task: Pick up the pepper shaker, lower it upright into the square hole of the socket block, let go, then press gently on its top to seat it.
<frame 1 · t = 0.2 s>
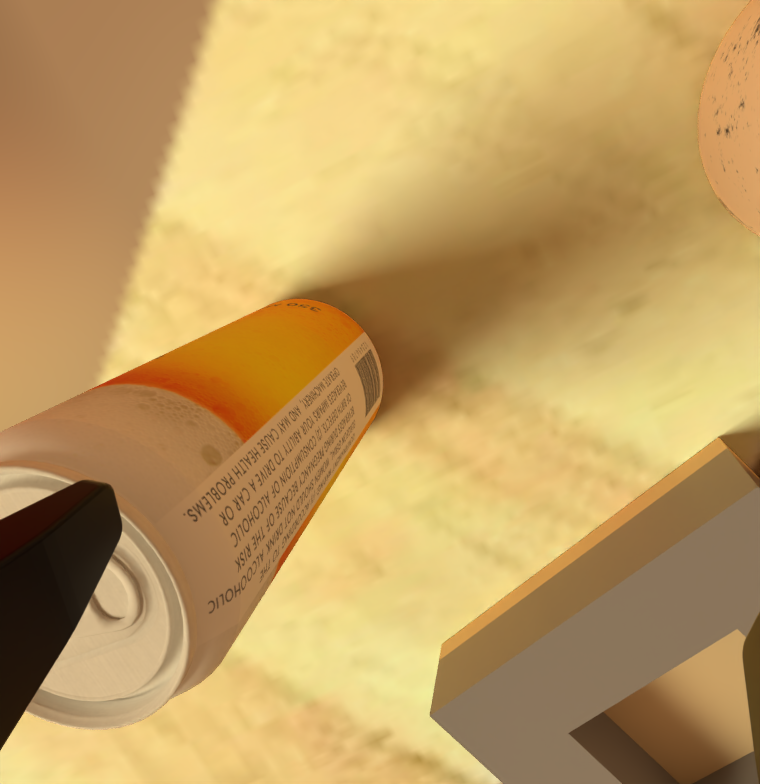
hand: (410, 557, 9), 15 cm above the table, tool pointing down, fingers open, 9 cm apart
beer can: (312, 371, 25), on the table
socket block: (690, 669, 26), on the table
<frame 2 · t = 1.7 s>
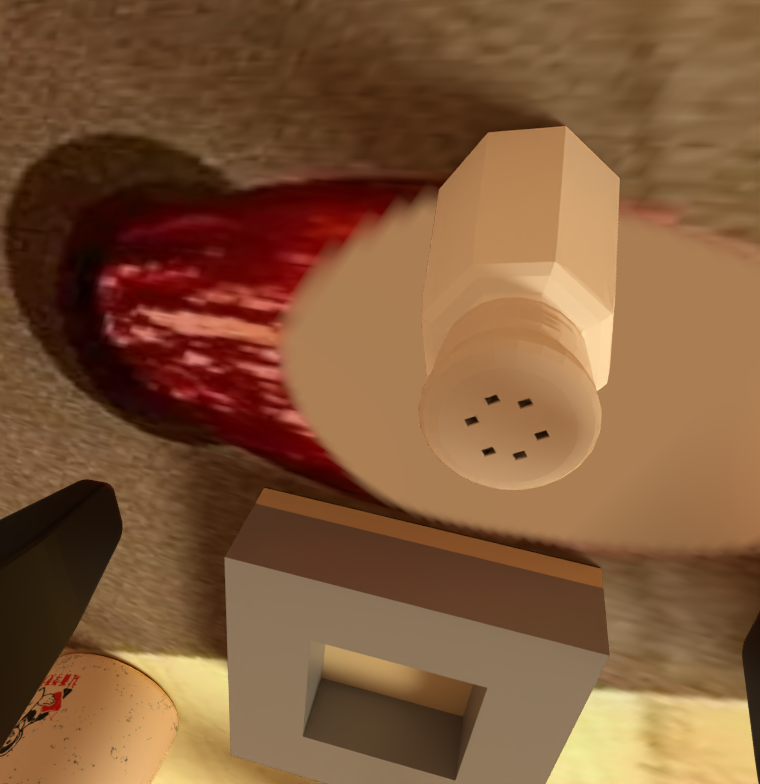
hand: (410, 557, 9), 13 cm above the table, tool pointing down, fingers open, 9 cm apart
pepper shaker: (526, 216, 19), on the table
socket block: (404, 634, 30), on the table
teacup with lid: (108, 702, 40), on the table
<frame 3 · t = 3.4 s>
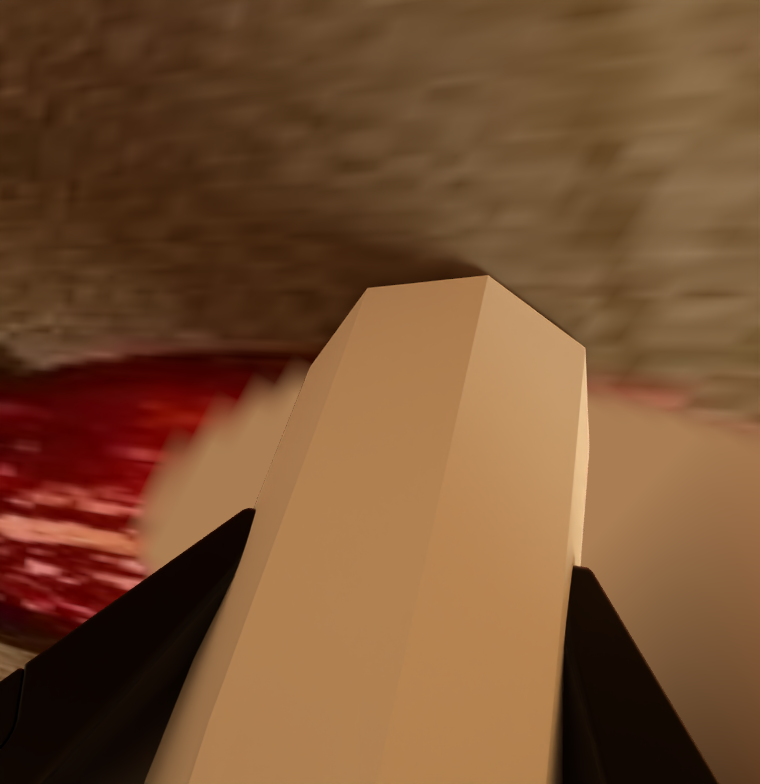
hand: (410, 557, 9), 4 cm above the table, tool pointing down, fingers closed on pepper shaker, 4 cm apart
pepper shaker: (449, 396, 12), on the table, touching gripper
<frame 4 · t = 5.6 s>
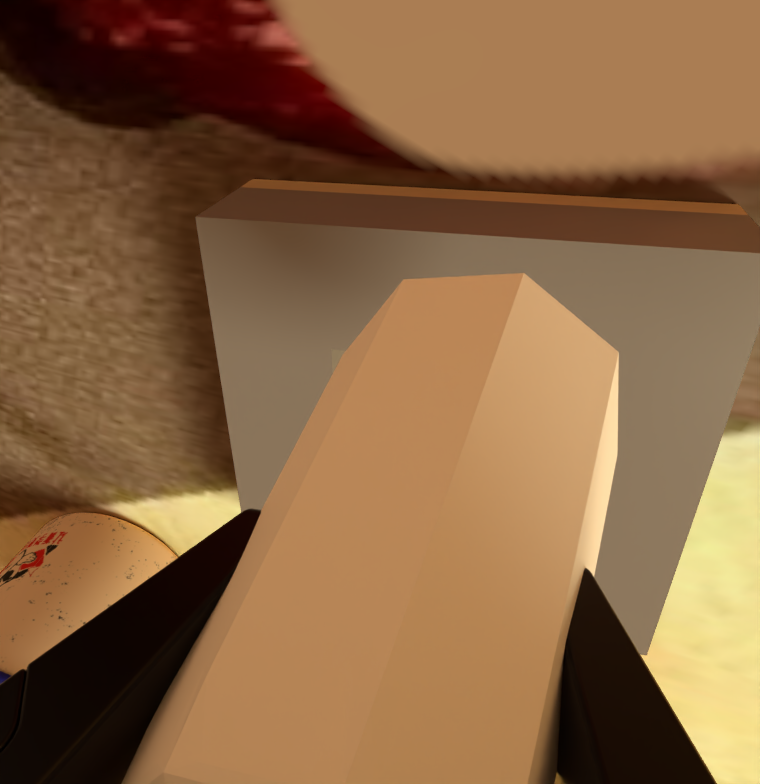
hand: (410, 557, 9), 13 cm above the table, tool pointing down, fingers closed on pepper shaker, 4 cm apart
pepper shaker: (479, 393, 12), point 9 cm above the table, touching gripper
socket block: (463, 394, 22), on the table
teacup with lid: (115, 585, 33), on the table
when the fingers open (5 cm above the table, at t = 8.1 s): pepper shaker stays where it is, resting on socket block.
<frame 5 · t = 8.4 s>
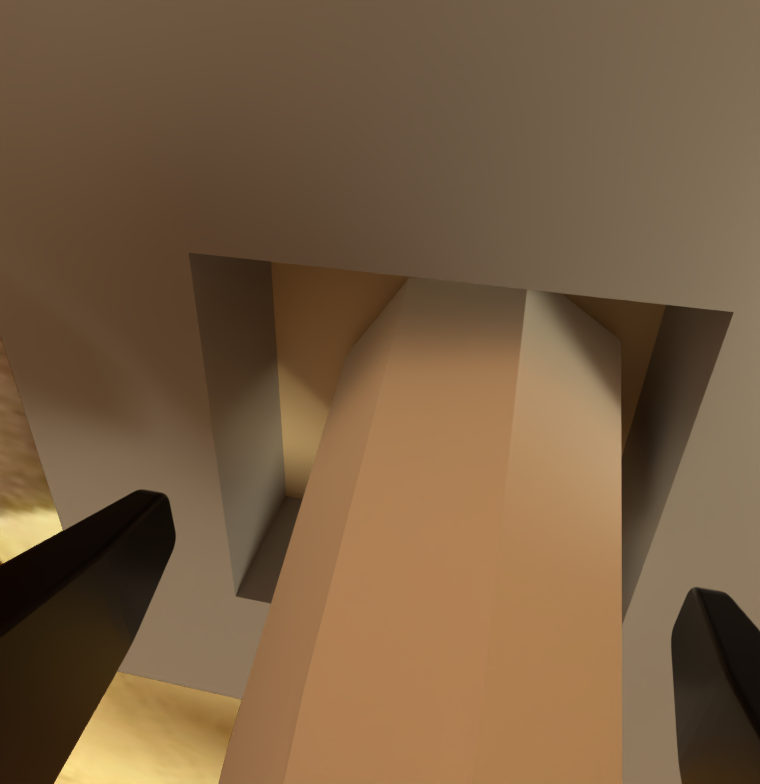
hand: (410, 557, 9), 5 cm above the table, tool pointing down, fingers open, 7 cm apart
pepper shaker: (482, 386, 13), point 1 cm above the table, touching socket block
socket block: (453, 365, 13), on the table
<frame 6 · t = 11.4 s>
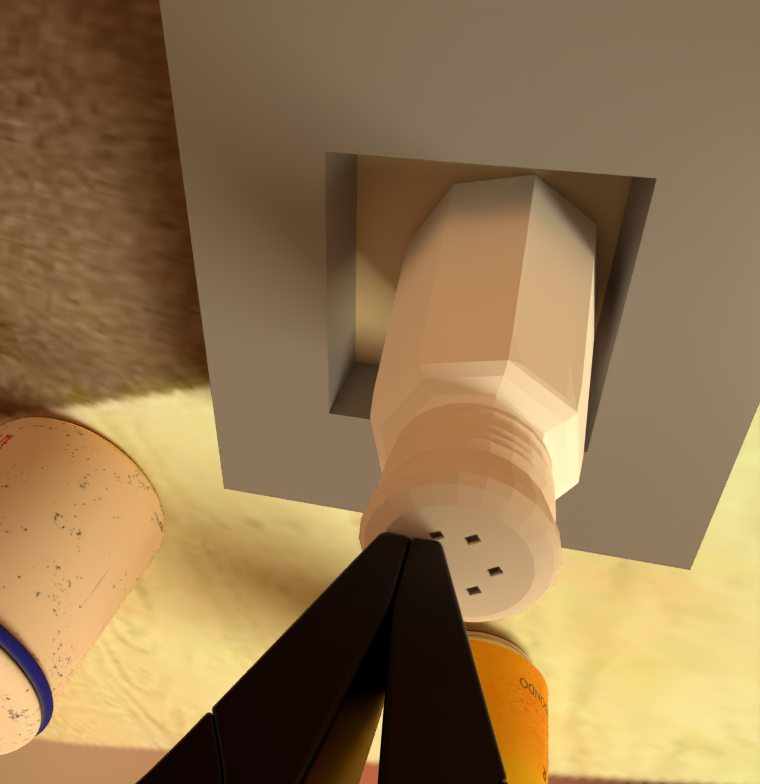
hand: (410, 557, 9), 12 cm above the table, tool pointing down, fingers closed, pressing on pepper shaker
pepper shaker: (502, 267, 18), point 1 cm above the table, touching gripper, socket block
beer can: (478, 664, 29), on the table
socket block: (480, 256, 19), on the table
teacup with lid: (72, 509, 29), on the table
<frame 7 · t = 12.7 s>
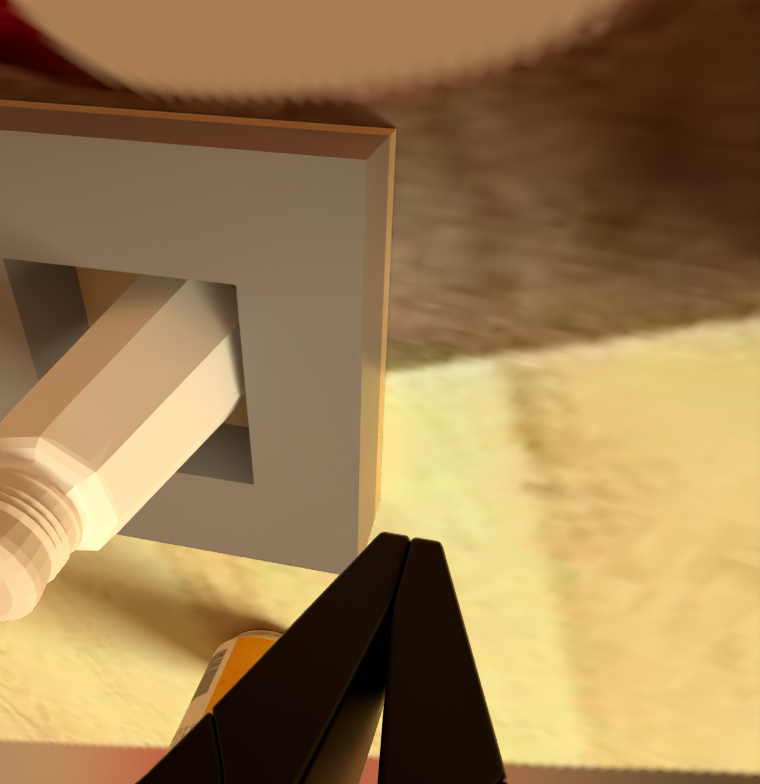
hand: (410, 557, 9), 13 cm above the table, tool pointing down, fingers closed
pepper shaker: (201, 333, 22), point 1 cm above the table, touching socket block
beer can: (277, 659, 33), on the table
socket block: (194, 322, 23), on the table
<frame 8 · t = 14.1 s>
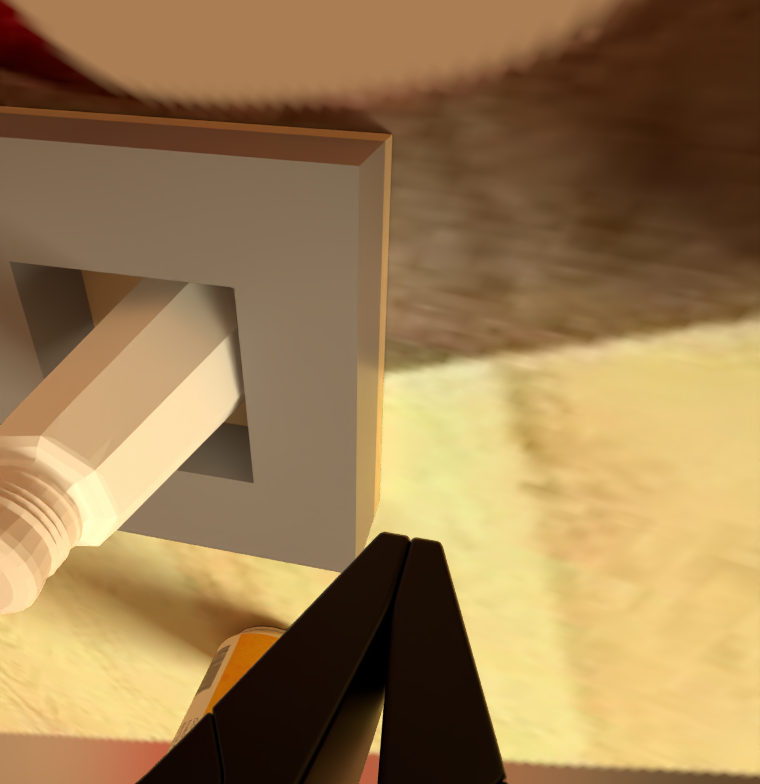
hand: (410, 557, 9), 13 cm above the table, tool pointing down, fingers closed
pepper shaker: (203, 334, 23), point 1 cm above the table, touching socket block
beer can: (280, 655, 33), on the table
socket block: (196, 324, 23), on the table
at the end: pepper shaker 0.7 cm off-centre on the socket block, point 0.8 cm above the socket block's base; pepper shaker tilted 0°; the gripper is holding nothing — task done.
